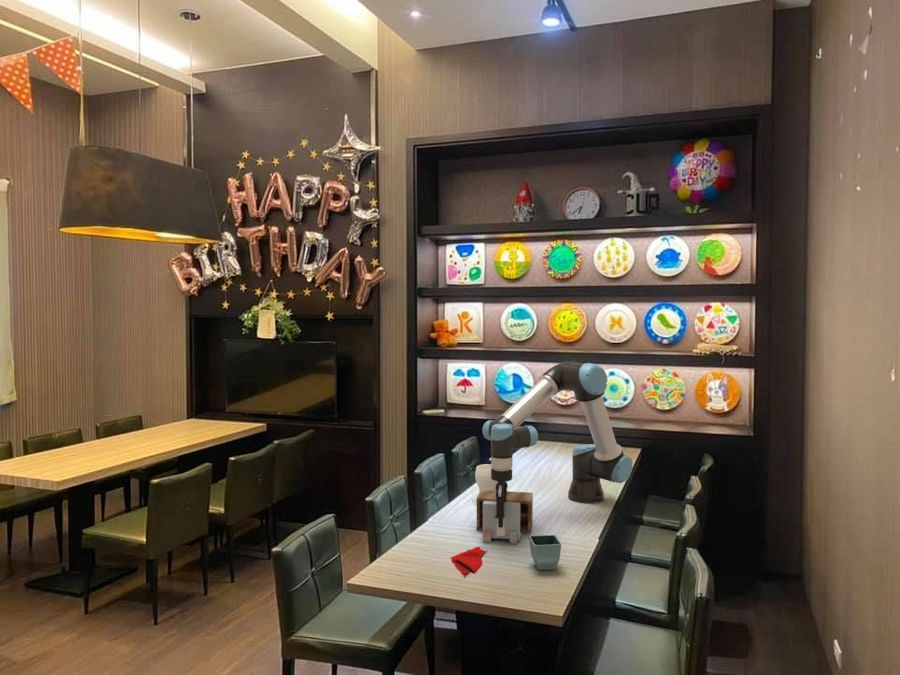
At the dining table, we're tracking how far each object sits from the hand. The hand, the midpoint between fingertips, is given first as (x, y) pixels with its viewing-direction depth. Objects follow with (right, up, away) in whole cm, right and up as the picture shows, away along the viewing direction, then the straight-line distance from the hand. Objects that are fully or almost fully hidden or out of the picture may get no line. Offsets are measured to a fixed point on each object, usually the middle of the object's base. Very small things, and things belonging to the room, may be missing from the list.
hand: (501, 533), depth 233 cm
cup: (-2, 0, +44) cm, 44 cm away
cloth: (-12, -4, -18) cm, 22 cm away
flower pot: (+12, -4, -23) cm, 27 cm away
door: (0, -1, 0) cm, 1 cm away
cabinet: (+2, -2, +14) cm, 14 cm away
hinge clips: (0, -2, +3) cm, 4 cm away
